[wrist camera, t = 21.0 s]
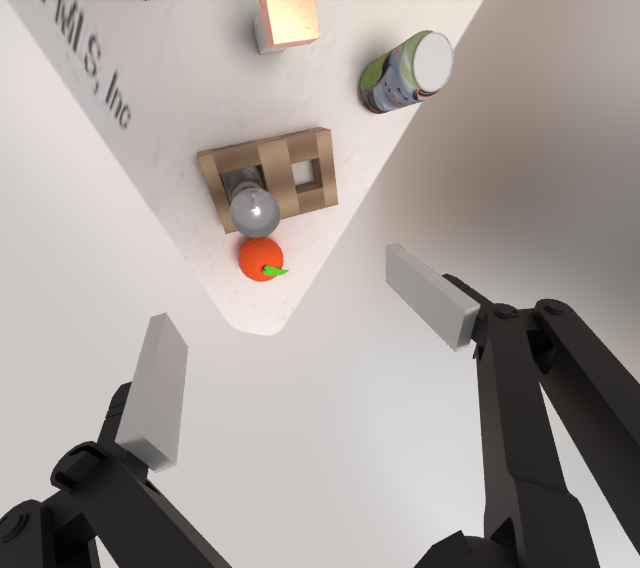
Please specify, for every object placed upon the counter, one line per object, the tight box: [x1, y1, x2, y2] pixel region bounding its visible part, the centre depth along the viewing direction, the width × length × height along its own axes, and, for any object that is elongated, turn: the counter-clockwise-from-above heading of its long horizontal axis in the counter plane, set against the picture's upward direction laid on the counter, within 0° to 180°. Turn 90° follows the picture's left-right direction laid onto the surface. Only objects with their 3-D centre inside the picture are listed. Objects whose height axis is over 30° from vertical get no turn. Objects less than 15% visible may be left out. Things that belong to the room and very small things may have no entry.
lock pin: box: [253, 0, 319, 55], centre depth 26 cm, size 4×4×12 cm
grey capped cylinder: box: [229, 169, 280, 238], centre depth 33 cm, size 5×5×14 cm
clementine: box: [238, 237, 289, 282], centre depth 42 cm, size 8×7×7 cm
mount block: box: [197, 128, 338, 234], centre depth 38 cm, size 10×17×4 cm, turn 99°
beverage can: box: [360, 30, 453, 114], centre depth 32 cm, size 6×7×12 cm
